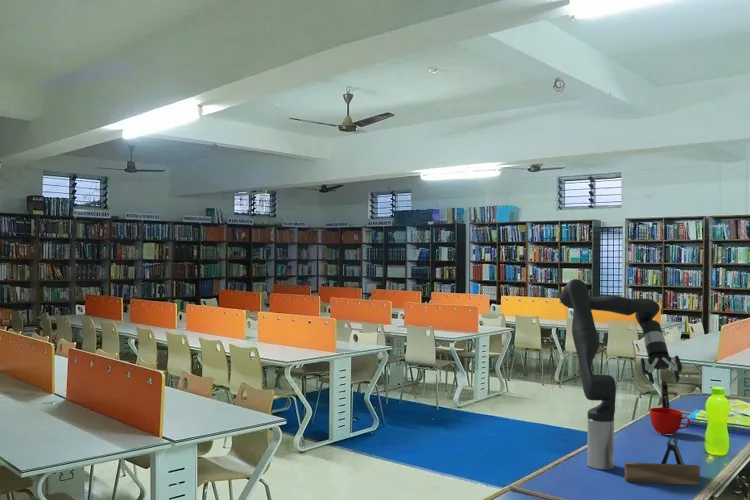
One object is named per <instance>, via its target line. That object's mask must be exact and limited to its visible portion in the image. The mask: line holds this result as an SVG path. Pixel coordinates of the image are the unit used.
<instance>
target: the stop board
mask: <svg viewBox="0 0 750 500" xmlns="http://www.w3.org/2000/svg"><path fill="white" fill-rule="evenodd" d="M700 475H701V468H700V466H699V465H698V464H684V465H681V464H677V463H675V464H674V463H672V464H671V463H666V464H661V463H656V462H655V463H654V462H653V463H652V462H650V463H649V462H629V461H628V462H624V481H625V482H626V483H627V482H628V483H643V484H644V483H647V484H648V483H650V484H670V485H671V484H672V485H690V486H691V485H692V486H693V485H697V486H700V483H701V476H700Z"/></svg>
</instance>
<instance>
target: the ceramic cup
mask: <svg viewBox="0 0 750 500" xmlns="http://www.w3.org/2000/svg"><path fill="white" fill-rule="evenodd" d="M649 417H650V423H651V425H652V427H653V428H654V429H653V430H655V432H658V433H661V434H674V435H675V434H676V433H677V432H678V431H679V430H683V429H686V428H689V427H690V425H691V419H690V418H689V417H688V416H683V411H681V410H679V409H674V408H670V407H669V408H662V407H652V408H650V409H649ZM684 419H685V420H687V425H684V426H682V421H683V420H684ZM658 433H657V434H658ZM661 434H660V435H661Z"/></svg>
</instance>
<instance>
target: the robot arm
mask: <svg viewBox="0 0 750 500" xmlns="http://www.w3.org/2000/svg"><path fill="white" fill-rule="evenodd" d="M559 301H560V303H561V304H562V305H563V306H565V307H566V308H569V309H573V310H572V312H573V314H572V323H571V334H572V339H573V344H574V346H575V351H576V355H577V359H578V366H579V372H580V377H581V384H582V390H583V394H584V396H585V398H586V399H587V400H589V401H597V402H598V401H601V402H600V403H599V404H598V405H596V406H594V407H592V408H590V409H588V410H587V441H586V443H587V452H586V453H587V457H586V458H587V459H586V461H587V463H586V465H587V467H590V468H592V469H596V470H604V471H605V470H607V471H608V470H612V469H614V468H615V464H614V463H615V413H616V397H617V385H616V381H615V378H614V376H612V375H611V374H609V375H608V374H594V373H593V371H592V370H593V369H592V367H593V366H592V364H593V363H594V360H595V357H596V355H597V353H598V350H599V347H600V339H599V334H598V331H597V328H596V325H595V320H594V317H593V313H592V311H603V312H610V313H613V314H619V315H623V316H632V315H634V314H635V319H636V322H637V323H638V325H639V327H640V328H641V330H642V334H643V339H644V346H645V349H646V353H647V358H648V359H647V358H644V357H641V358H640V366H641V372H642V375H644V376H645V375H647V377H648V380H649V381H648V382H649V383H650V384H651V385H654V384H655V379H654V376H653V375H654V374H653V372H654V371H655V370H666V369H667V370H669V371H670V372H672V373H673V377H674V380H675V383H679V381H680V375H679V373H682V372H683V366H682V363H681V360H680V357H679V355H675V356H674V357H673V356H672V357H671V356H670V354H669V350H668V346H667V342H666V339H665V336H664V333H663V330H662V326H661V324H660V322H658V321H657V320H653V319H654V318H655V317H656V316H657V314H658V313H659V312H660V305H659V304H658V302H656V301H655V300H654V299H650V298H628V297H624V296H619V295H604V296H590V293H589V289H588V287H587V285H586V284H585V282H584V281H583V280H581V279H578V278H574V279H571V280H569V281H568V282H567V283H566V285H565V286H564V288H563V289H562V291H561V292H560V294H559ZM671 362H673V363H674V364H675V365H676V366H675V365H674V364H673V363H671ZM647 364H649V365H650V367H649V368H648V369H646V368H647V367H646V366H647Z"/></svg>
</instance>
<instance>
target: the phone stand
mask: <svg viewBox="0 0 750 500" xmlns="http://www.w3.org/2000/svg"><path fill="white" fill-rule="evenodd" d="M672 439H673V440H672ZM671 442H673V443H674V444H672V443H671ZM678 443H679V441H678V438H677V437H673V436H669V438H668V440H667V443H666V446H667V449H666V451H665V453H664V456H663V458H662V461H661V463H660V464H668V459H669V456H670V453H671V451H672V452H673V455H674V458H675V461H676V464H681V465H685V462H684V460H683V458H682V454H681V451H680V449H679V445H678Z"/></svg>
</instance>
